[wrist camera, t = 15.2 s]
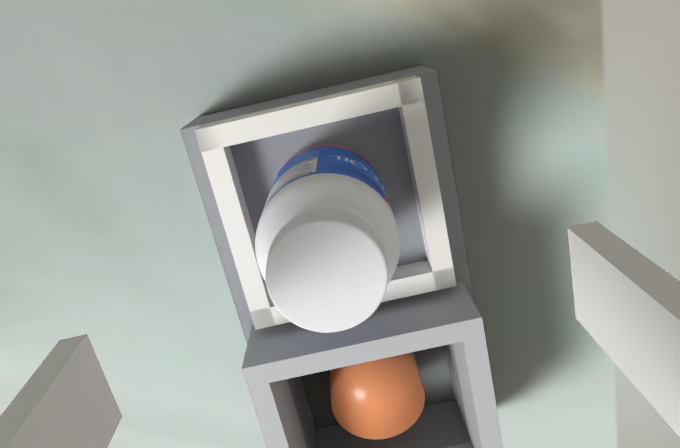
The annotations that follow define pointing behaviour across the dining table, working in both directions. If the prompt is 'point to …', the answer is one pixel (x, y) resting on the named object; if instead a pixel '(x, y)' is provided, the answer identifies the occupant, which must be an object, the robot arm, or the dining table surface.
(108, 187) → the dining table surface
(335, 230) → the pill bottle
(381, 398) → the orange rounded object
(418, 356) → the dining table surface
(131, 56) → the dining table surface
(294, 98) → the grey compartment organizer
